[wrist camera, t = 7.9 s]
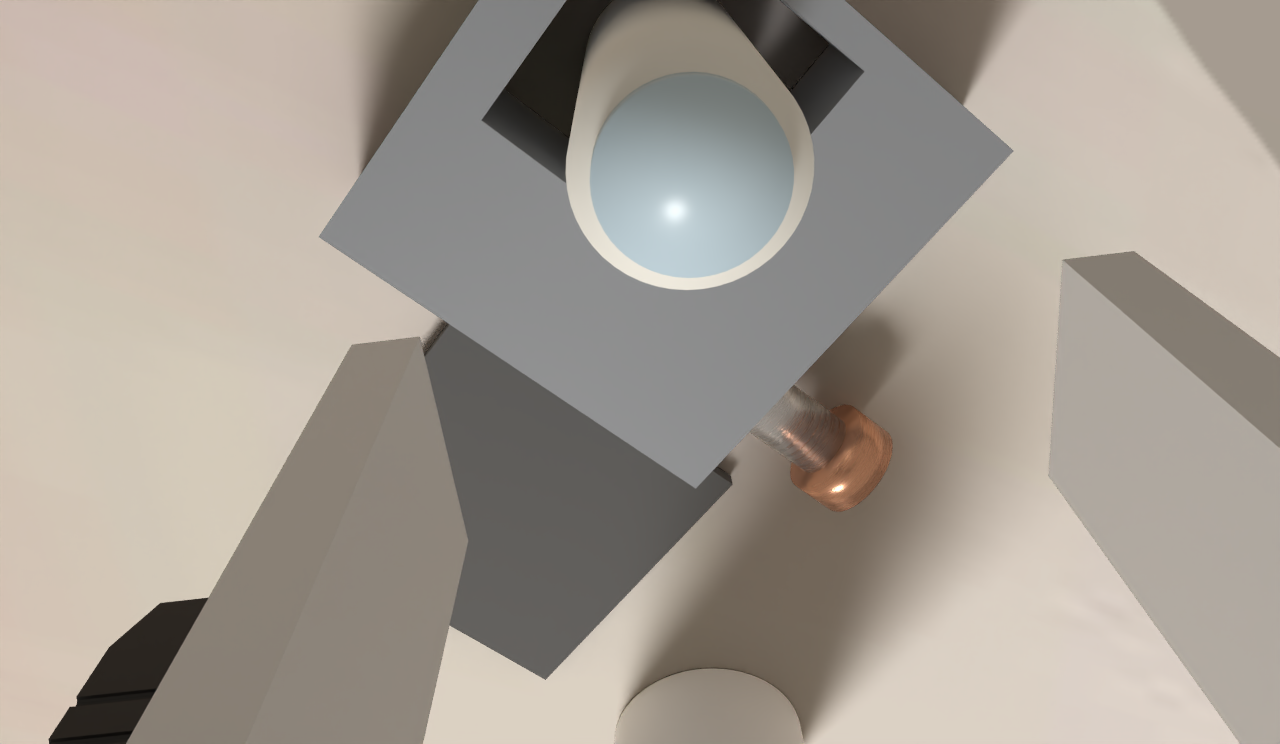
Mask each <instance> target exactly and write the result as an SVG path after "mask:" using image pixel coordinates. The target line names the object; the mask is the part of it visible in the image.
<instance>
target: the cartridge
mask: <svg viewBox="0 0 1280 744" xmlns="http://www.w3.org/2000/svg"><path fill="white" fill-rule="evenodd" d="M813 178H814V152H813V143H812V139H811V135H810V131H809V127H808V124H807V122H806V120H805V117H804V115H803V112H802V110H801V109H800V107H799V105H798V103H797V102H796V100H795V98H794V97H793V95H792V94H791V93H790V92H789V90H788V89H787V88H786V87H785V85H784V84H783V83H782V81H781V80H780V79H779V78H778V76H777V75H776V74H775V72H774V71H773V70H772V69H771V67H770V66H769V65H768V64H767V62H766V61H765V60H764V58H763V57H762V56H761V55H760V53H759V52H758V51H757V50H756V48H755V47H754V46H753V44H752V43H751V42H750V41H749V39H748V38H747V37H746V35H745V34H744V33H743V32H742V30H741V29H740V28H739V27H738V25H737V24H736V23H735V21H734V20H733V19H732V18H731V16H730V15H729V14H728V13H727V11H726V10H725V9H724V7H723V6H722V5H721V4H720V3H719V2H718V1H717V0H613V1H612V2H611V3H610V4H609V5H608V6H607V7H606V8H605V9H604V11H603V12H602V13H601V14H600V16H599V17H598V19H597V21H596V22H595V24H594V26H593V28H592V31H591V33H590V36H589V39H588V42H587V47H586V53H585V58H584V63H583V69H582V74H581V80H580V85H579V91H578V96H577V101H576V107H575V112H574V118H573V123H572V128H571V134H570V139H569V145H568V150H567V156H566V184H567V192H568V196H569V201H570V205H571V208H572V210H573V213H574V216H575V218H576V221H577V222H578V224H579V226H580V228H581V230H582V232H583V234H584V235H585V236H586V238H587V239H588V241H589V242H590V243H591V245H592V246H593V247H594V248H595V249H596V250H597V252H598V253H599V254H600V255H601V256H602V257H603V258H604V259H606V260H607V261H608V262H609V263H610V264H612V265H613V266H614V267H615V268H617V269H619V270H620V271H622V272H623V273H625V274H627V275H628V276H630V277H633V278H635V279H637V280H639V281H641V282H644V283H647V284H650V285H654V286H657V287H662V288H668V289H677V290H697V289H706V288H711V287H717V286H720V285H723V284H726V283H730V282H733V281H735V280H737V279H739V278H741V277H744V276H746V275H748V274H749V273H751V272H753V271H754V270H756V269H758V268H759V267H761V266H762V265H763V264H764V263H766V262H767V261H768V260H769V259H771V258H772V257H773V256H774V255H775V254H776V253H777V252H778V251H779V250H780V249H781V248H782V247H783V246H784V245H785V243H786V242H787V241H788V239H789V238H790V237H791V235H792V234H793V233H794V231H795V229H796V228H797V226H798V224H799V222H800V221H801V219H802V216H803V214H804V212H805V209H806V207H807V204H808V201H809V197H810V194H811V191H812V184H813Z"/></svg>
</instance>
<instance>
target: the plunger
mask: <svg viewBox="0 0 1280 744" xmlns="http://www.w3.org/2000/svg"><path fill="white" fill-rule="evenodd" d="M750 433H751V434H753V435H754V436H756V437H757V438H758V439H760V440H761V441H763V442H764V443H765V444H767V445H768V446H770V447H771V448H773V449H774V450H775V451H777V452H778V453H780V454H781V455H783V456H784V457H785V458H787V459H788V460H790V461H791V462H792V463H791V470H790V475H791V480H792V482H793V483H794V485H796V486H797V487H798V488H800V489H801V490H803V491H804V492H805V493H807V494H808V495H810V496H811V497H813V498H814V499H816V500H817V501H818V502H820V503H821V504H823V505H824V506H826V507H827V508H829V509H830V510H832V511H836V512H839V511H845V510H848V509H850V508H852V507H854V506H855V505H857V504H859V503H860V502H861V501H862V500H864V499H865V498H866V497H867V496H868V495H869V494H870V493H871V492H872V491H873V489H874V488H875V487H876V486H877V484H878V483H879V482H880V480H881V478H882V477H883V475H884V473H885V471H886V469H887V467H888V465H889V462H890V459H891V455H892V439H891V436H890V435H889V433H888V432H887V431H885V430H884V429H883V428H881V427H880V426H878V425H877V424H876V423H874V422H873V421H872V420H870V419H869V418H868V417H866V416H865V415H864V414H862V413H861V412H860V411H858V410H857V409H855V408H854V407H853V406H851V405H840V406H837V407H835V408H833V409H831V410H830V411H829V410H828V409H826V408H825V407H823V406H822V405H821V404H819V403H818V402H817V401H815V400H814V399H812V398H811V397H810V396H808V395H807V394H806V393H804V392H803V391H802V390H800V389H799V388H797V387H796V386H795V385H793V386H792V387H791V388H790V389H789V390H788V391H787V392H786V393H785V394H784V395H783V396H782V398H781V399H780V400H779V401H778V402H777V403H776V404H775V405H774V406H773V407H772V408H771V409H770V410H769V411H768V412H767V413H766V415H765V416H764V417H763V418H762V419H761V420H760V421H759V422H758V423H757V424H756V425H755V426H754V427H753V428H752V429H751V430H750Z"/></svg>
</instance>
